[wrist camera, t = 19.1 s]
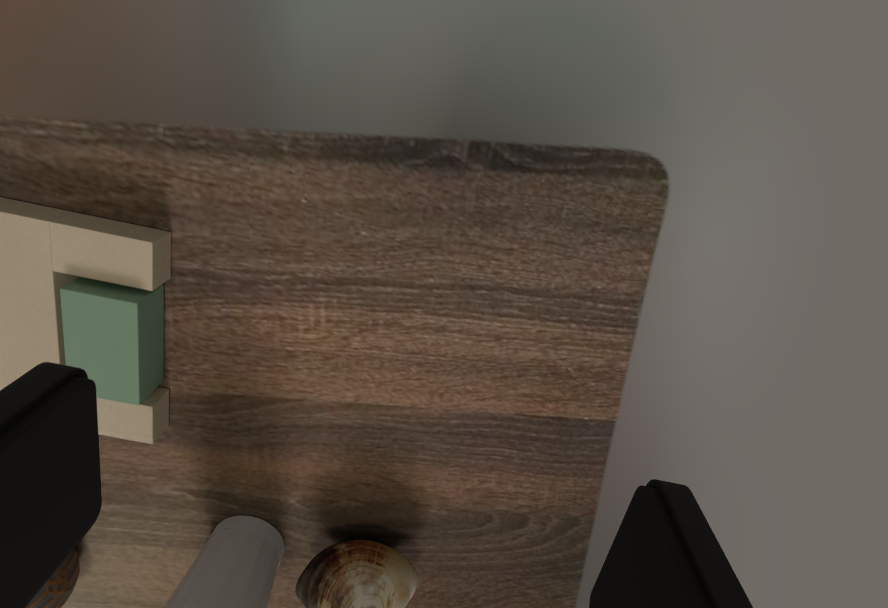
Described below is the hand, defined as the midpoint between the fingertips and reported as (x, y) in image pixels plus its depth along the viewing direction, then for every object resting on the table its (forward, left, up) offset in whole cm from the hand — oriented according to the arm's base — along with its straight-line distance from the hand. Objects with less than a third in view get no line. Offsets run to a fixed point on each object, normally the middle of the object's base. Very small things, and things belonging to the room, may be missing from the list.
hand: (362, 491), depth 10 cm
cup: (+34, -10, -28) cm, 45 cm away
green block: (+15, -20, -28) cm, 38 cm away
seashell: (+32, 0, -28) cm, 43 cm away
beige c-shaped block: (+15, -23, -28) cm, 39 cm away
